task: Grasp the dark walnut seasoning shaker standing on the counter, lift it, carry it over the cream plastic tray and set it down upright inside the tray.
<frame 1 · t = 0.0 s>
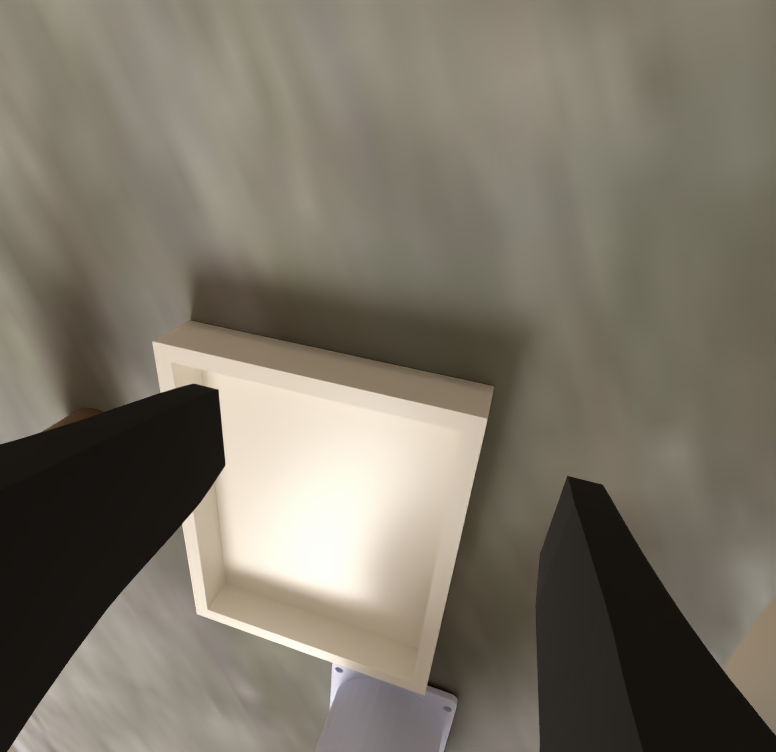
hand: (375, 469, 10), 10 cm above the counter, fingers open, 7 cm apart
shaker: (102, 440, 28), on the counter
tray: (326, 505, 25), on the counter
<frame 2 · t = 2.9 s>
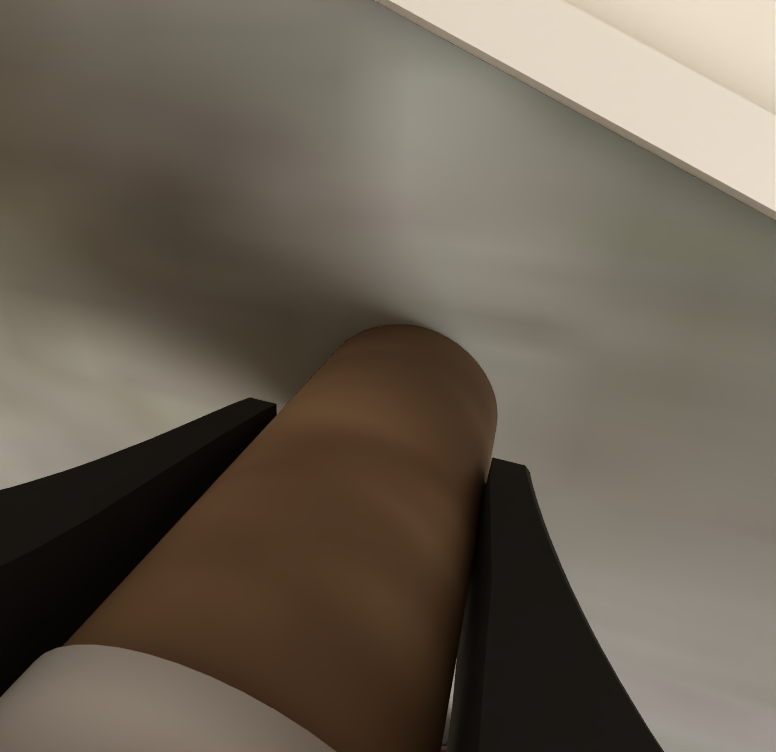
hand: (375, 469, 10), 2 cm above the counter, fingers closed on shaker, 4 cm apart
shaker: (405, 409, 12), on the counter, touching gripper
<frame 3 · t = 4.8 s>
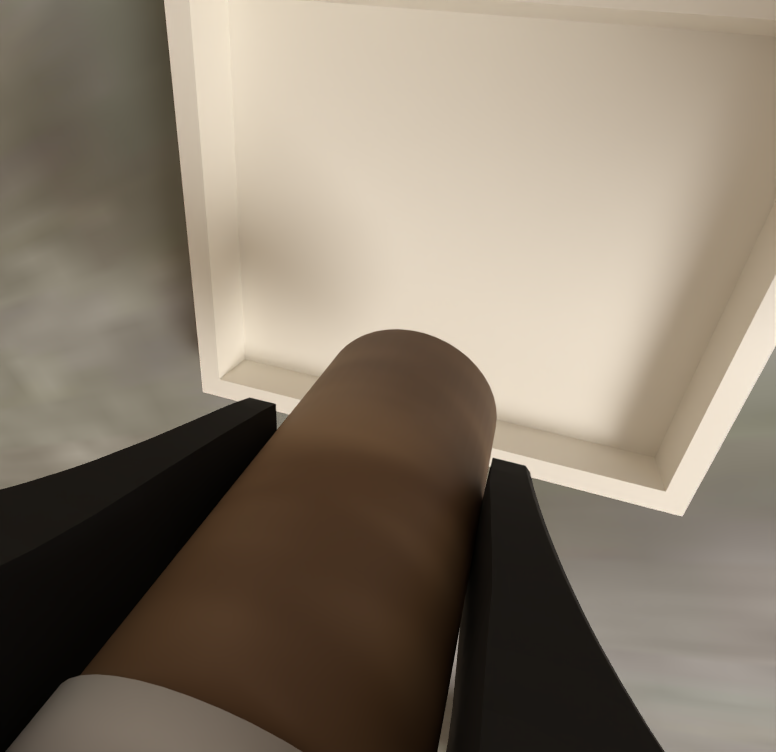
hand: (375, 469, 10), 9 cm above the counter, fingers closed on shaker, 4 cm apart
shaker: (407, 409, 12), point 7 cm above the counter, touching gripper
tray: (462, 242, 17), on the counter
when the fingers open (4 cm above the counter, at t = 6.8 s): shaker drops 1 cm, resting on tray.
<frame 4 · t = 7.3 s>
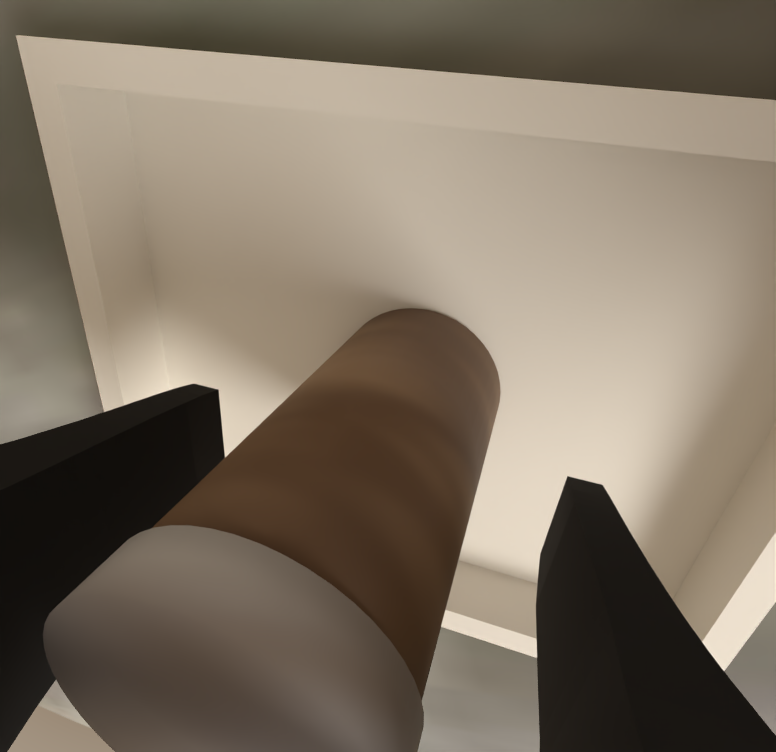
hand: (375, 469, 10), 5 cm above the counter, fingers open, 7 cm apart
shaker: (417, 386, 13), point 1 cm above the counter, touching tray
tray: (424, 371, 14), on the counter
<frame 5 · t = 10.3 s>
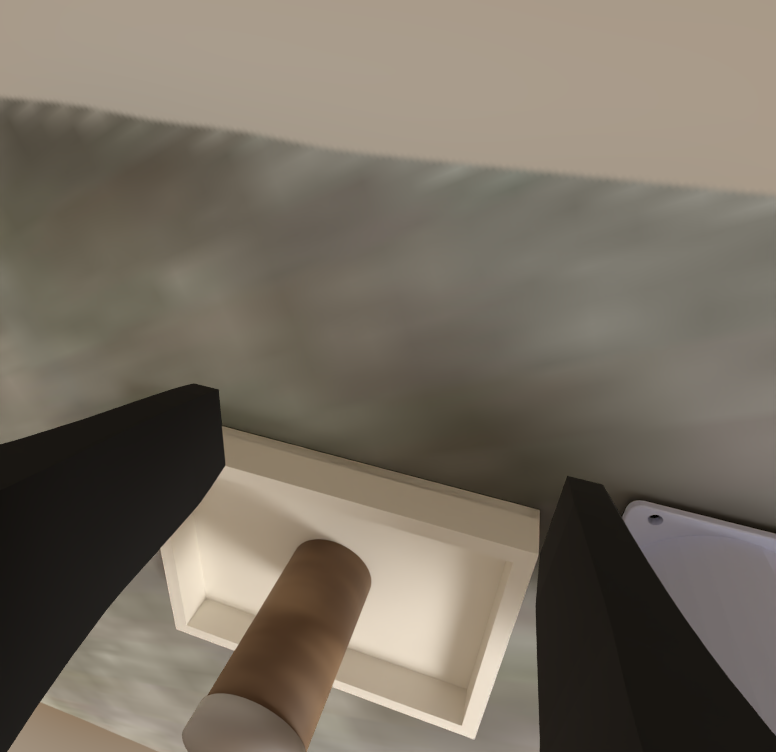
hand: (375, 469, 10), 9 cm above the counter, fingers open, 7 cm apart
shaker: (331, 571, 25), point 1 cm above the counter, touching tray
tray: (336, 560, 26), on the counter
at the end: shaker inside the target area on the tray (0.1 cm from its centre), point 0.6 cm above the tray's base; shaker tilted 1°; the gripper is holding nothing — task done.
